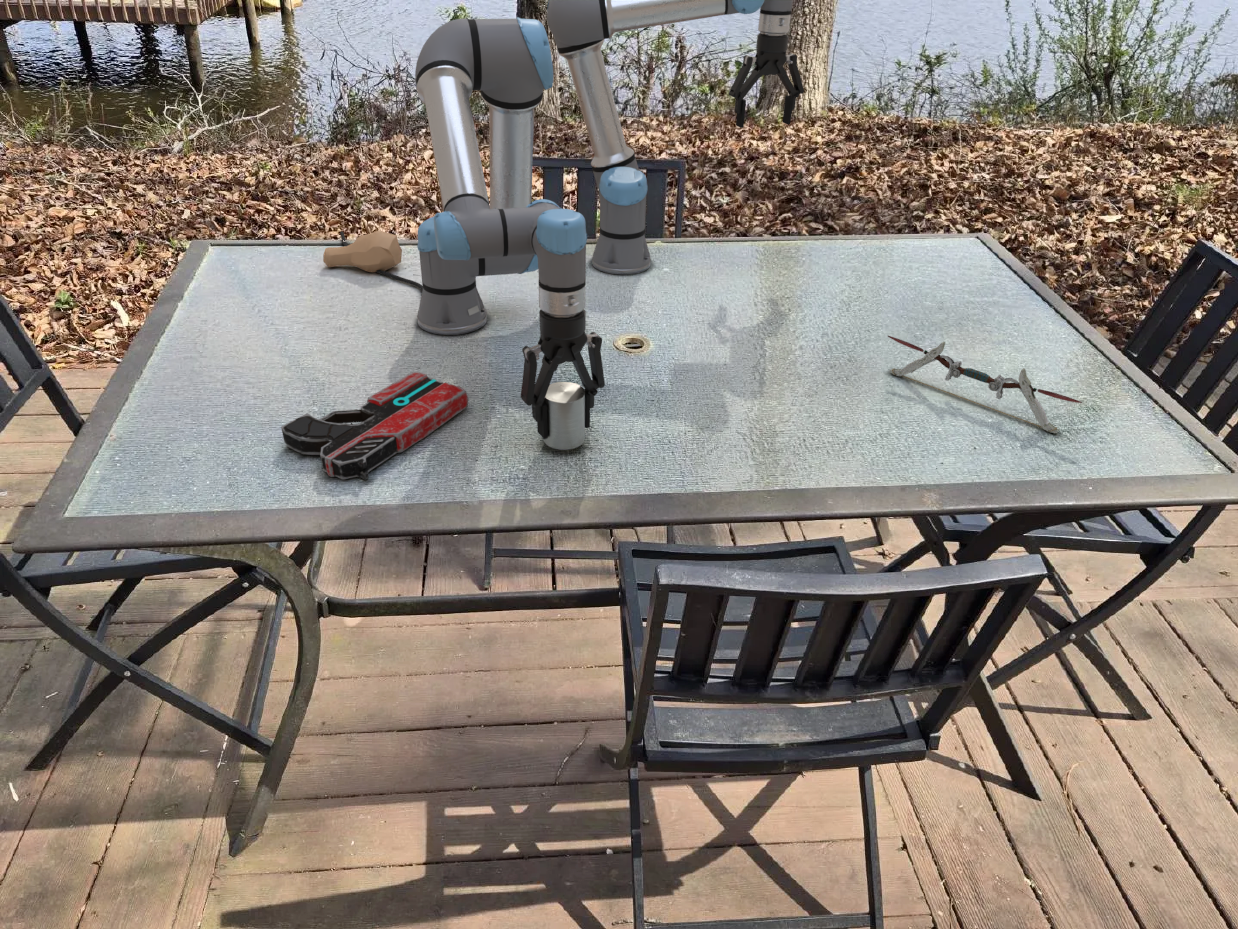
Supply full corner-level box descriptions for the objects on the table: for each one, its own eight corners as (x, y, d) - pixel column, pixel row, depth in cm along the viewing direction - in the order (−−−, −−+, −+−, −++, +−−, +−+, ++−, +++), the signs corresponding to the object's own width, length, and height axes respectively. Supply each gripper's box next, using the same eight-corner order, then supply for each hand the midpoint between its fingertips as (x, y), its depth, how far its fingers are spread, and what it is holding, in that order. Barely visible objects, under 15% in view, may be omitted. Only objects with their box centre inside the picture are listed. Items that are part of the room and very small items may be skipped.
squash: (402, 276, 219) (391, 244, 212) (324, 283, 220) (312, 251, 214) (409, 253, 226) (400, 222, 220) (335, 261, 228) (323, 229, 222)
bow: (1071, 436, 162) (1088, 388, 156) (1067, 439, 161) (1085, 392, 155) (883, 367, 183) (892, 323, 178) (878, 369, 182) (888, 325, 177)
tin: (535, 435, 156) (533, 389, 150) (569, 423, 159) (569, 377, 154) (558, 454, 151) (557, 407, 146) (593, 441, 155) (593, 394, 149)
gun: (267, 431, 148) (351, 468, 140) (394, 358, 170) (473, 387, 162) (272, 453, 151) (354, 490, 143) (397, 379, 173) (474, 408, 165)
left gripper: (513, 329, 135) (518, 454, 147) (628, 306, 143) (624, 426, 156) (494, 311, 140) (501, 433, 153) (607, 290, 148) (604, 407, 161)
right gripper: (734, 36, 206) (726, 131, 217) (825, 33, 213) (812, 125, 225) (720, 32, 211) (712, 124, 223) (809, 29, 219) (797, 118, 231)
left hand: (563, 429), depth 154 cm, fingers open, 7 cm apart
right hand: (763, 124), depth 224 cm, fingers open, 13 cm apart
